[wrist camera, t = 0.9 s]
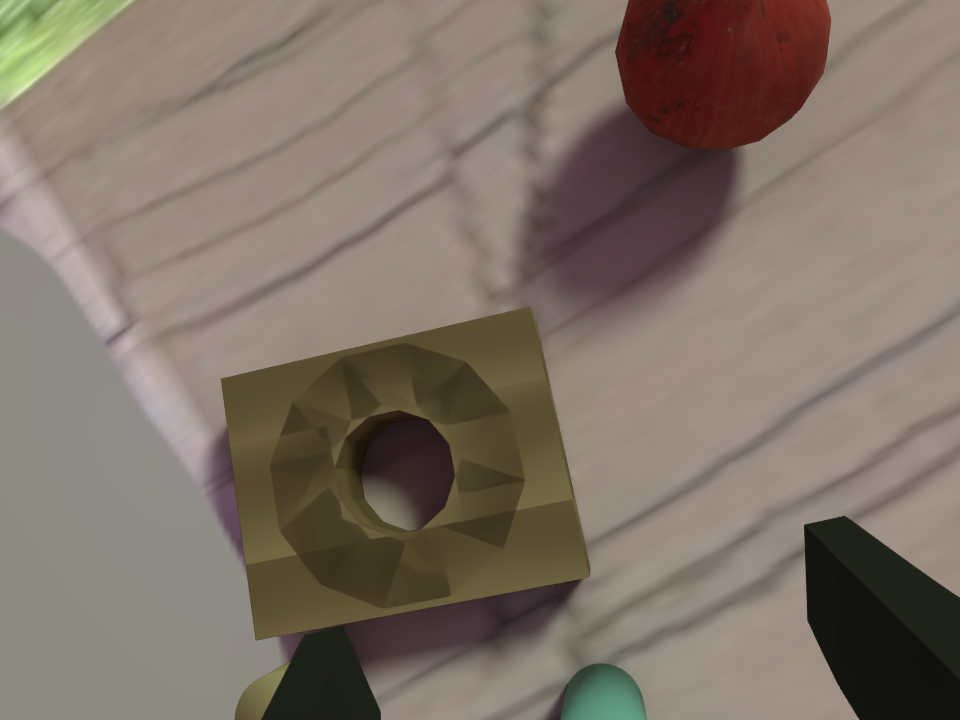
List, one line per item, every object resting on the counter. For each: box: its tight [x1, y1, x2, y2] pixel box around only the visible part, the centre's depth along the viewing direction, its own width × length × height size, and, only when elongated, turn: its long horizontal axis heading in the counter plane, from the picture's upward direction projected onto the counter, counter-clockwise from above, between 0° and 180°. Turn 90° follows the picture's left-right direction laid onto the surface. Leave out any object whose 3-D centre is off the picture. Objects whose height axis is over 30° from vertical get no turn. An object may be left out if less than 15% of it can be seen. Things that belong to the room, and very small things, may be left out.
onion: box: [615, 0, 831, 151], centre depth 22 cm, size 6×6×8 cm
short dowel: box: [235, 662, 290, 720], centre depth 22 cm, size 2×2×4 cm
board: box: [221, 307, 590, 640], centre depth 24 cm, size 8×10×2 cm
